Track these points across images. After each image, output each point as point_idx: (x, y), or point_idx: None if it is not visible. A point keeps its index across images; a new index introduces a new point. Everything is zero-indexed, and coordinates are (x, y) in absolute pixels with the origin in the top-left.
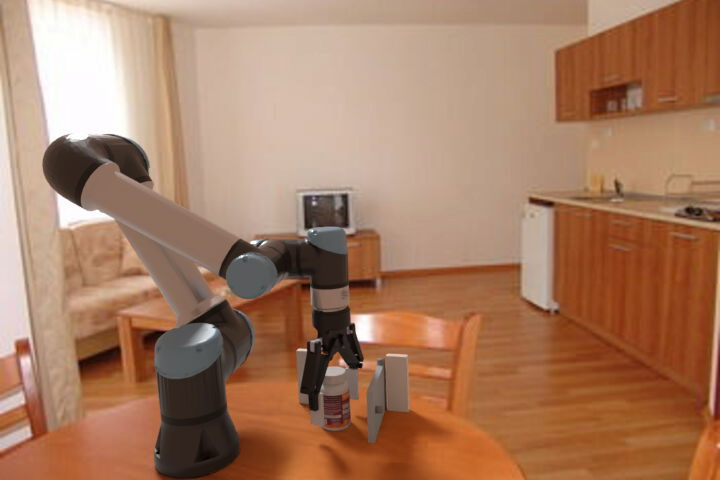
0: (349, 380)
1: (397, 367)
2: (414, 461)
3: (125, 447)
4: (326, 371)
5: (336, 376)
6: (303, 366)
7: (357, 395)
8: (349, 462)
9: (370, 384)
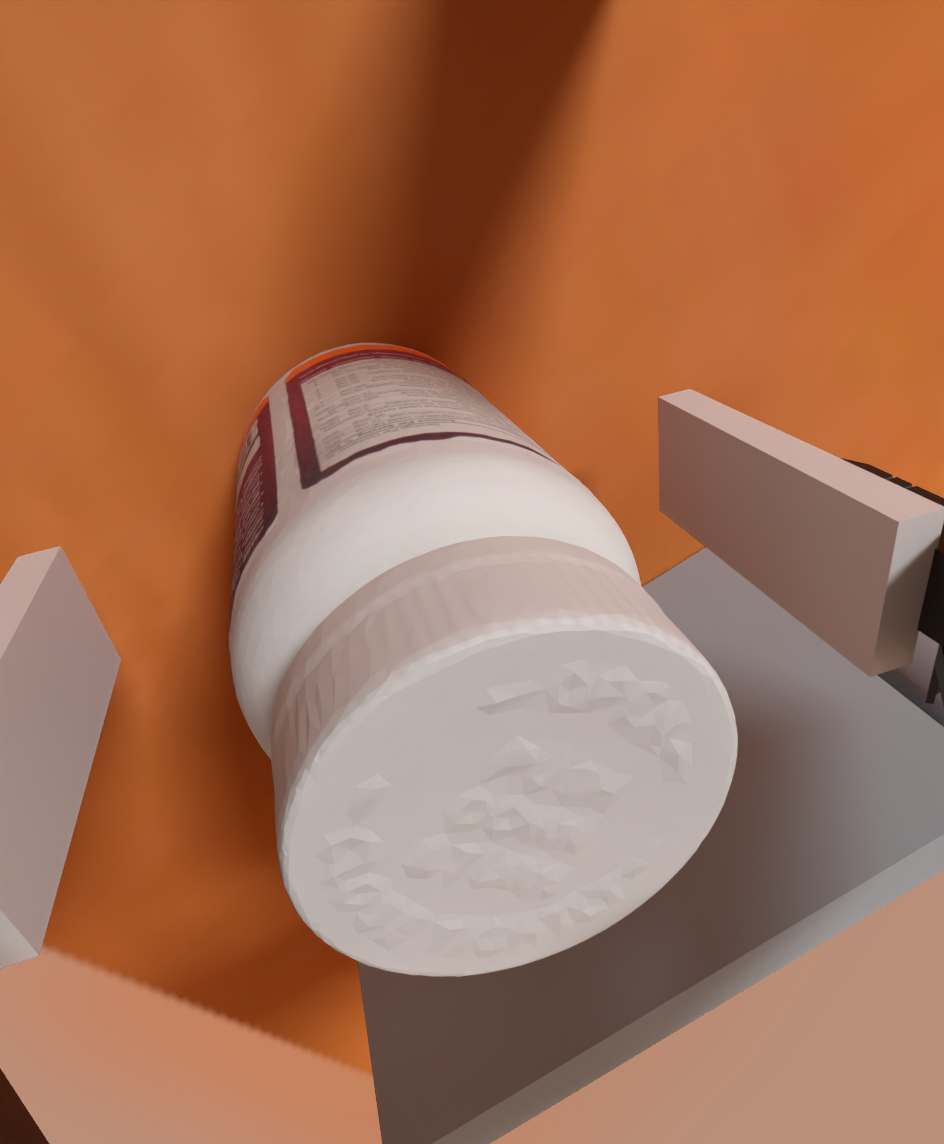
0: (775, 516)
1: None
2: (351, 984)
3: None
4: (454, 764)
5: (409, 962)
6: None
7: (689, 525)
8: (89, 864)
9: (554, 1075)
